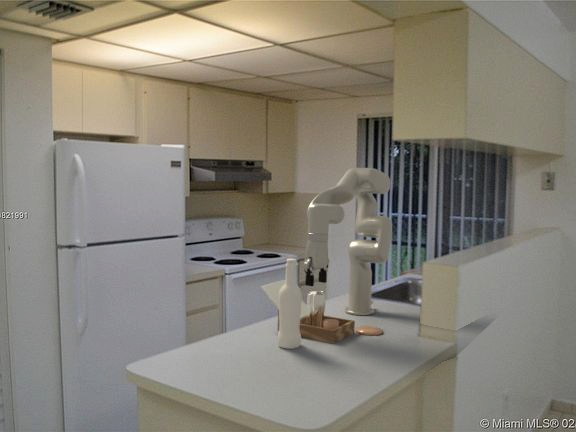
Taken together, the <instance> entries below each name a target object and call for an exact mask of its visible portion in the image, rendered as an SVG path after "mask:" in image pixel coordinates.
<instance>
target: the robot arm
mask: <svg viewBox="0 0 576 432" xmlns="http://www.w3.org/2000/svg"><path fill="white" fill-rule="evenodd" d="M391 183H392V182H391V178H390V177H389V175H388V174H386V173H385V172H383V171H380V170H379V169H377V168H373V167H351V168H349V169H348V170H346V172H345V173H344V175H343V176H342V177H341V178H340V180H339V181H338V182H337V184H336V185H335V186H332V187H330V188H328V189H327V190H324V191H322V192H320V193H318V194H317V195H316V196H315V197H314V198H313V199H312V201H311V202H310V204H309V206H308V207H307V210H306V216H307V219H308V222H307V223H308V226H307V242H306V247H305V253H304V263H303V267H304V269H303V270H304V275H305V286H308V287H314V286H315V285H314V284H315V275H314V273H315V270H319V271H318V281H317V282H318V283H323V284H326V283H327V280H328V279H327V278H328V273H327V272H328V271H329V270H328V268H329V263H330V259H329V255H328V254H329V247H328V246H329V245H328V243H329V227H330V226H329V225H337V224H340V223H342V222H343V220H344V218H345V209H344V208H343V207H342V206H341V205H343V204H347V203H350V202H351V201H352V200H353V199H354V198H355V197H356V199H357V200H356V201H357V210H356V216H355V217H356V218H355V225H354V230H355V234H356V235H358V236H360V237H365V238H375V239H377V240H371V239H359V238H358V239H353V240H352V241H351V242H349V245H348V247H347V248H348V249H347V251H348V259H349V284H348V285H349V287H348V306H347V307H345V308H344V312H345V313H347V314H349V315H355V316H368V315H369V316H370V315H374V314H375V309H374V308H372V305H373V304H374V301H373V300H372V283H373V281H372V280H373V279H372V278H373V271H372V268H371V267H370V265H369V264H371V263H372V264H377V265H378V264H380V265H381V264H386V263H387V261H388V260H389V256H390V250H391V243H392V242H391V241H392V234H393V223H392V220H391V219H390V218H389V217H388V216H385V215H377V213H378V206H379V205H378V202H377V200H376V198H375V197H374V195H373V194H376V195H377V194H380V195H384V194H387V193H388V192H389V191H390V189H391Z"/></svg>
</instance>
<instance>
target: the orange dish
mask: <svg viewBox="0 0 576 432" xmlns="http://www.w3.org/2000/svg"><path fill="white" fill-rule="evenodd" d="M355 332H356V333H357V334H358V335H362V336H370V337H373V336H380V335H382V334H383V329H381V328H379V327H377V326H373V325H372V326H370V325H364V326H363V325H361V326H357V327H356V328H355Z"/></svg>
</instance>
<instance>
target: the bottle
mask: <svg viewBox="0 0 576 432" xmlns="http://www.w3.org/2000/svg"><path fill="white" fill-rule="evenodd" d="M297 262H298V261H297V259H296V258H287V259H286V263H285V277H284V278H285V279H284V280H285V284H284V285H283V286H282V288H281V289H280V292H279V320H280V330H279V331H278V333H277V338H276V339H277V345H278V347H280V348H282V349H286V350H294V349H297V348H299V347H301V345H302V344H301V342H302V337H301V334H300V330H299V328H300V315H301V303H302V300H303V293H302V290H301V288H300V286H298V284H297V266H298V264H297Z"/></svg>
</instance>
